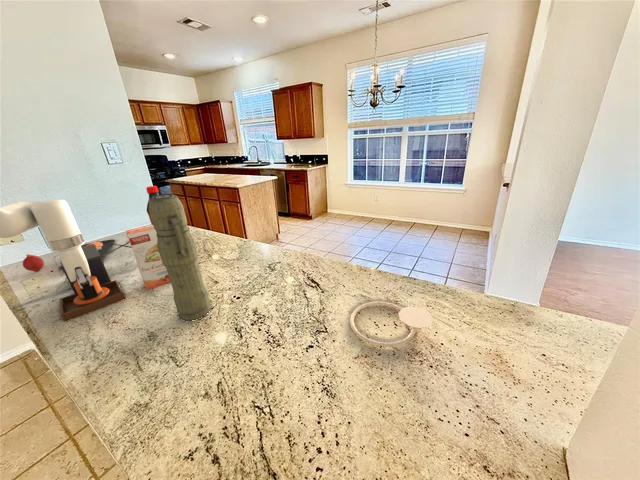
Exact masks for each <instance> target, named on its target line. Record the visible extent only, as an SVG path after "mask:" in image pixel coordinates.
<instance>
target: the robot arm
mask: <svg viewBox="0 0 640 480" xmlns="http://www.w3.org/2000/svg"><path fill="white" fill-rule="evenodd" d="M37 227H39V229H40V231H41V233H42V235H43V237H44V239H45V241H46V243H47V245H48V247H49V249H50V251H51V252H53V253H57V255H58V257H59V260H60V263H61V262H62V264H63V266H64V268H65V271H66V273H67V275H68V277H69V279H70V282H74V281H76V279H77V281H78V283H79V286H80V290H81V292H82V294H83V296H84V298H85V300H87V299H90V298H93V297H96V296H98V293H97V291H96V289H95V287H94V285H92V283H91V281H90V278H89V277H90V276H91V273H90V269H89V266H88V262H87V260H86V257H85V255H84V252H83V250H82V248H81V246H82V245H84V244H86V242H85V240H84V237H83V235H82V232H81V231H80V229H79V226H78V224H77V222H76V219H75V217H74V215H73V213H72V211H71V207H70V206H69V204H68V202H67V201H66V200H64V199H59V198H55V199H49V200H48V199H47V200H42V201H40V200H39V201H38V200H37V201H36V200H35V201H33V200H24V201H23V200H22V201H21V200H20V201H17V202H12V203H10V204H6V205H3V206H0V239H8V238H13V237H16V236H18V235H21V234H23V233H25V232H27V231H29V230H31V229H35V228H37ZM86 279H87V280H88V281H86Z"/></svg>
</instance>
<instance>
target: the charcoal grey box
mask: <svg viewBox="0 0 640 480" xmlns="http://www.w3.org/2000/svg"><path fill="white" fill-rule="evenodd" d="M81 248H82V250H83V252H84V255H85V257H86V260H87V262H88V266H89V269H90V273H91V276H95V277H96V278H97V280H98V282H99V285H102V284H105V283H108V282H111V281H112V280H111V278H110V276H109V273H108V271H107V268H106V267H105V264H104V261H103V260H102V259H101V257H100V254H99V252H98V250H97V248H96V246H95V244H92V245H88V246H84V247H81ZM60 266H61V267H62V269H63V270H62V271H63V273H64V275H65V278H66V279H67V281H68V283H69V285H70V287H71V289H72V292H73V294H75V293H77V291H76V289H75V287H74V283H75V282H76V281H77V279H76V281H74V282H70V279H69V277H68V275H67V273H66V271H65V268H64V266H63V264H62V262H61V261H60ZM91 276H90V277H91Z"/></svg>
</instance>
